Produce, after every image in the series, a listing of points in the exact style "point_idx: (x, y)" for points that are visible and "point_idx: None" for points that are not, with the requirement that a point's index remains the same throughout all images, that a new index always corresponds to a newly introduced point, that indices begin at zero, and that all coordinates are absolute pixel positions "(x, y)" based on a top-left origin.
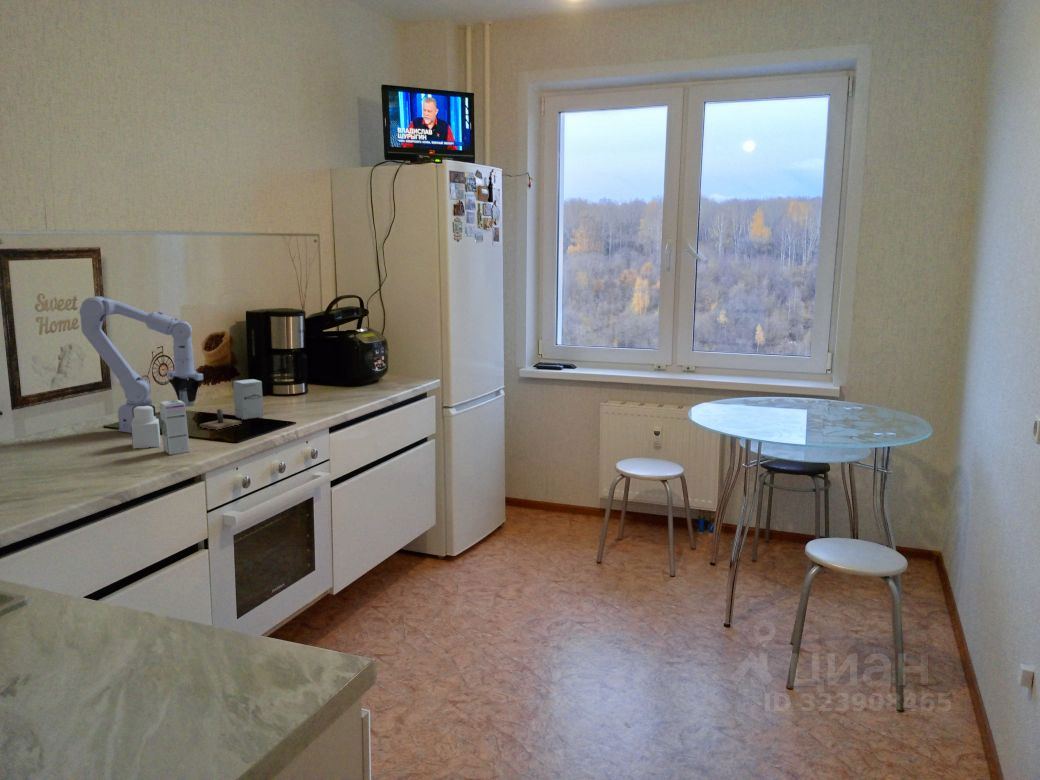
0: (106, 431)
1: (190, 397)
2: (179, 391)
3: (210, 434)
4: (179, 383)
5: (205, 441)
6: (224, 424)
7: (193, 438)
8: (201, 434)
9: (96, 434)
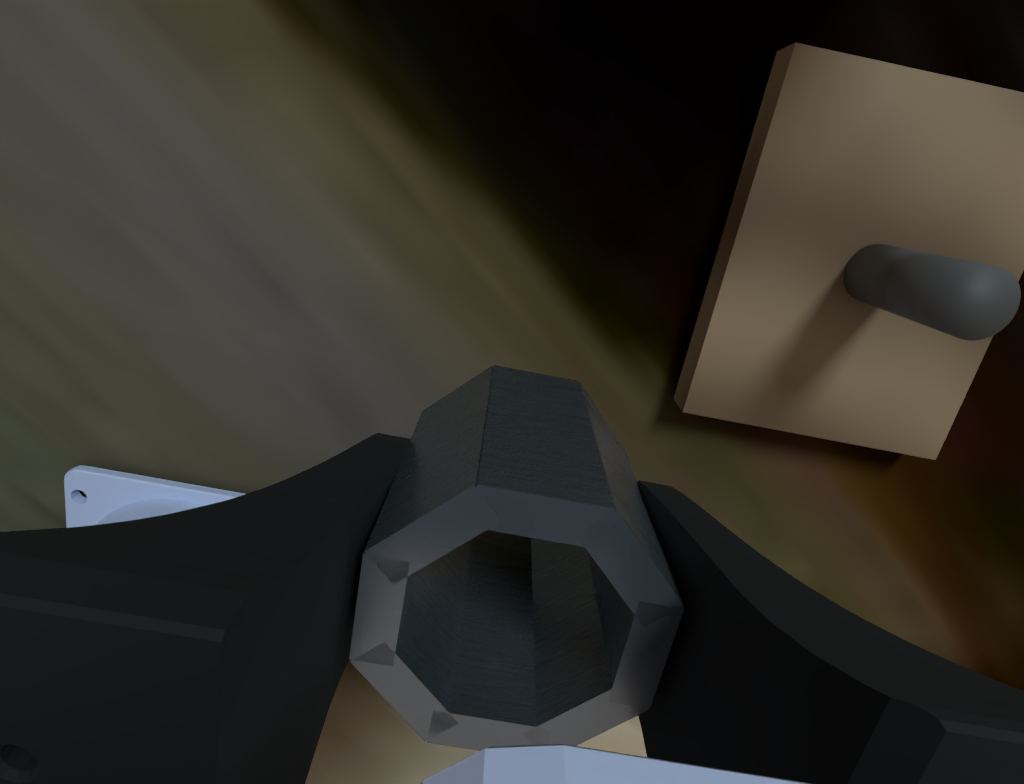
0: None
1: None
2: (447, 737)
3: (921, 572)
4: (278, 780)
5: None
6: (966, 343)
7: None
8: (840, 590)
9: None
